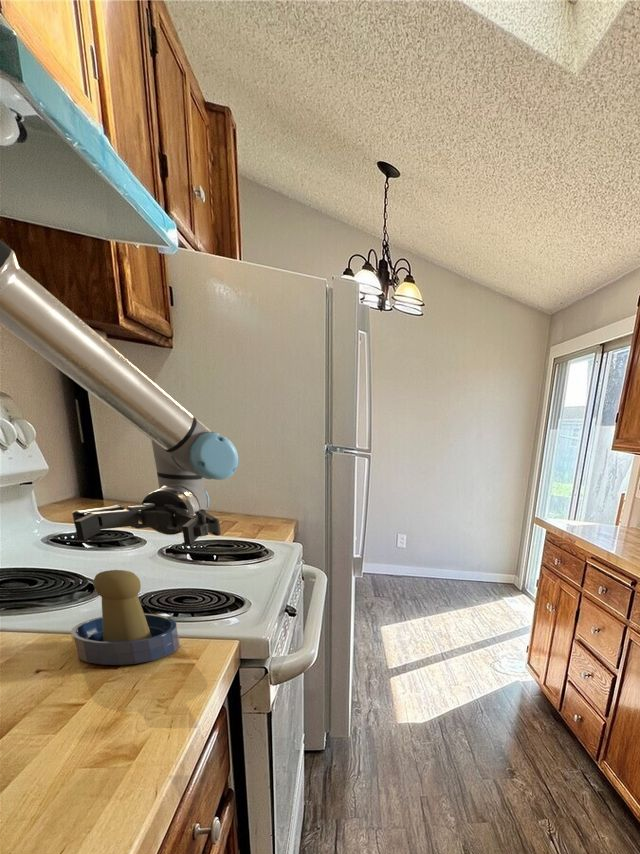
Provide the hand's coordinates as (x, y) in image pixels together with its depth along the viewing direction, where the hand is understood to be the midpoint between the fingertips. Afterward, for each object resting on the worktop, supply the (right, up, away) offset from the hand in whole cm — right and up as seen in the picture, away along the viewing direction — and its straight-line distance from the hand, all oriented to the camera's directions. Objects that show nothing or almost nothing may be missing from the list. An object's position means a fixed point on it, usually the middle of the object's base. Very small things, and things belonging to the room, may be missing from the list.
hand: (133, 533), depth 81 cm
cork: (+1, -17, -2) cm, 17 cm away
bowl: (+1, -17, -2) cm, 18 cm away
